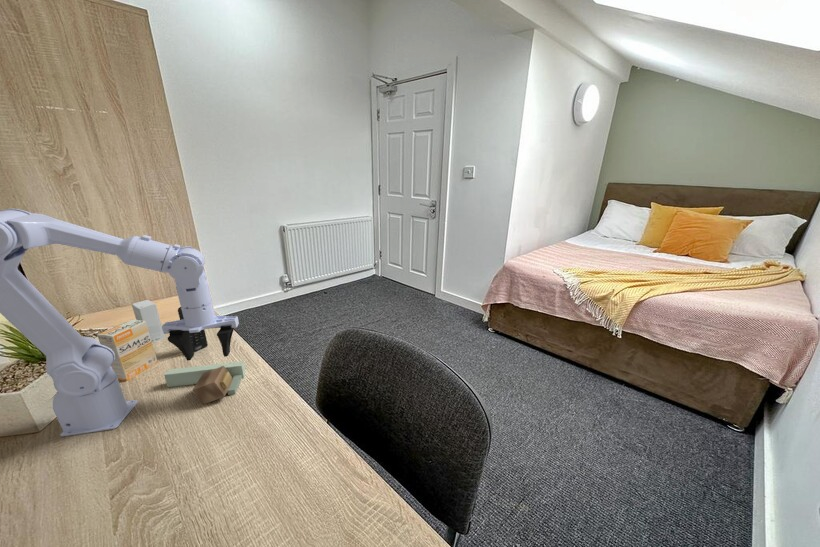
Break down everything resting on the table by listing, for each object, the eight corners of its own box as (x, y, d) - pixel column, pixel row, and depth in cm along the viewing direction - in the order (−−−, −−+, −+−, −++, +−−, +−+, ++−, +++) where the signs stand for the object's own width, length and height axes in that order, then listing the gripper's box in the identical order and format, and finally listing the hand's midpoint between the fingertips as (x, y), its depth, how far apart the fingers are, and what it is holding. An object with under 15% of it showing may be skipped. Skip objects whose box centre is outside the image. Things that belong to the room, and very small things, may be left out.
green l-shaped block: (154, 405, 69) (150, 392, 68) (171, 382, 76) (168, 369, 75) (237, 394, 73) (234, 381, 72) (246, 373, 80) (243, 361, 79)
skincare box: (166, 338, 95) (156, 303, 91) (149, 344, 92) (138, 309, 88) (157, 332, 98) (147, 299, 94) (141, 338, 95) (130, 303, 91)
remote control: (191, 355, 87) (178, 308, 82) (188, 353, 88) (175, 306, 83) (209, 347, 91) (198, 301, 86) (206, 345, 92) (195, 300, 87)
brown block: (192, 390, 68) (218, 380, 68) (203, 373, 73) (227, 364, 74) (203, 404, 70) (228, 395, 70) (213, 386, 75) (236, 378, 76)
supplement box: (127, 382, 76) (111, 336, 72) (112, 379, 77) (95, 334, 73) (159, 362, 84) (146, 320, 79) (145, 360, 85) (131, 318, 80)
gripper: (148, 314, 62) (164, 370, 66) (227, 308, 65) (238, 362, 69) (165, 300, 68) (179, 352, 73) (237, 295, 71) (246, 345, 76)
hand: (209, 356), depth 71 cm, fingers open, 7 cm apart
